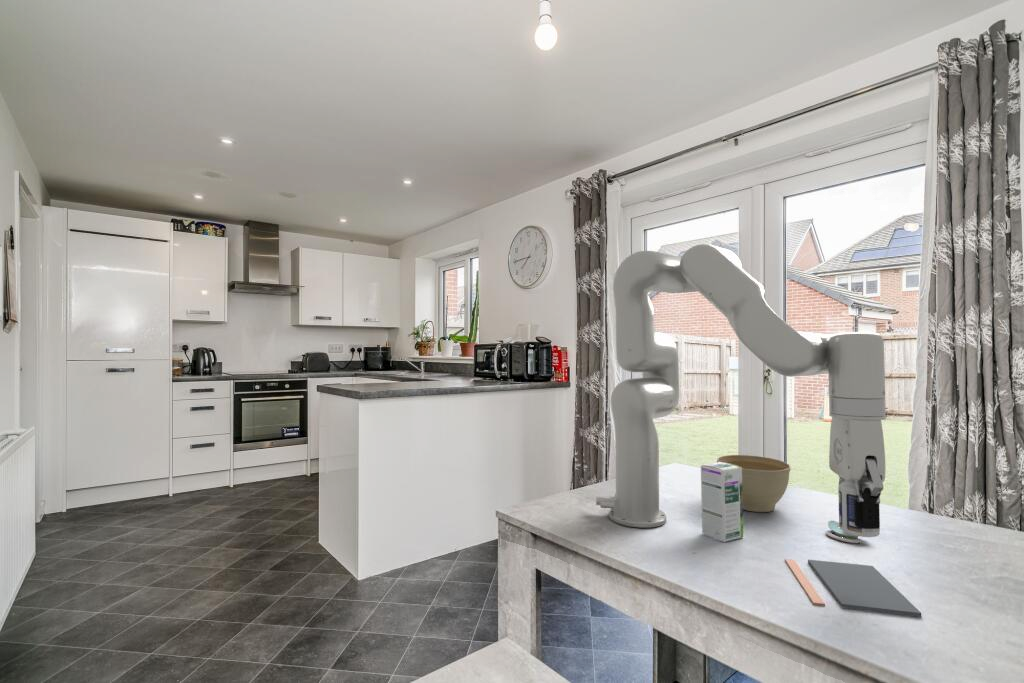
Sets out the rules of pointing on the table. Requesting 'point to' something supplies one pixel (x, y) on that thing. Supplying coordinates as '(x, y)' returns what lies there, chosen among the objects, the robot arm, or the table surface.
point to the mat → (862, 588)
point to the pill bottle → (851, 510)
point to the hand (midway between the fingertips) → (858, 519)
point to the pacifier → (840, 533)
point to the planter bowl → (760, 480)
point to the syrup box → (722, 501)
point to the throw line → (805, 583)
